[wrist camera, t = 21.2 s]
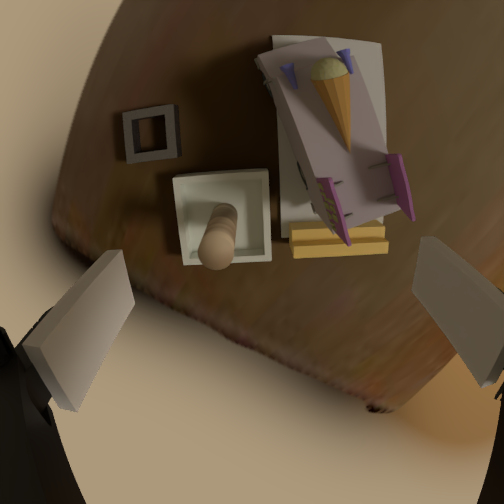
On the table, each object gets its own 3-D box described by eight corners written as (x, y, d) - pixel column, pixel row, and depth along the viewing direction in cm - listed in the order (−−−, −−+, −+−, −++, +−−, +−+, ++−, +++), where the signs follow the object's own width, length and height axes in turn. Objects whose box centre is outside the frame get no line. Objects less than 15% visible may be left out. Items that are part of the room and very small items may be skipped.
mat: (272, 36, 30) (272, 35, 30) (379, 44, 30) (380, 43, 30) (281, 236, 40) (281, 237, 40) (380, 232, 40) (381, 233, 40)
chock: (288, 222, 39) (293, 234, 35) (376, 219, 39) (390, 230, 35) (289, 244, 40) (293, 258, 36) (374, 240, 40) (387, 253, 36)
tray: (178, 174, 37) (172, 178, 34) (266, 168, 37) (268, 171, 34) (187, 255, 41) (183, 265, 38) (270, 251, 41) (271, 260, 38)
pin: (210, 203, 37) (195, 237, 26) (236, 202, 37) (232, 235, 26) (213, 228, 39) (199, 270, 28) (238, 226, 39) (235, 269, 28)
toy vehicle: (319, 44, 30) (359, 0, 16) (370, 187, 37) (430, 222, 23) (248, 65, 31) (247, 25, 18) (305, 211, 38) (336, 259, 24)
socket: (129, 113, 34) (122, 112, 31) (178, 105, 33) (173, 103, 31) (134, 161, 36) (127, 164, 34) (181, 155, 36) (177, 157, 34)
